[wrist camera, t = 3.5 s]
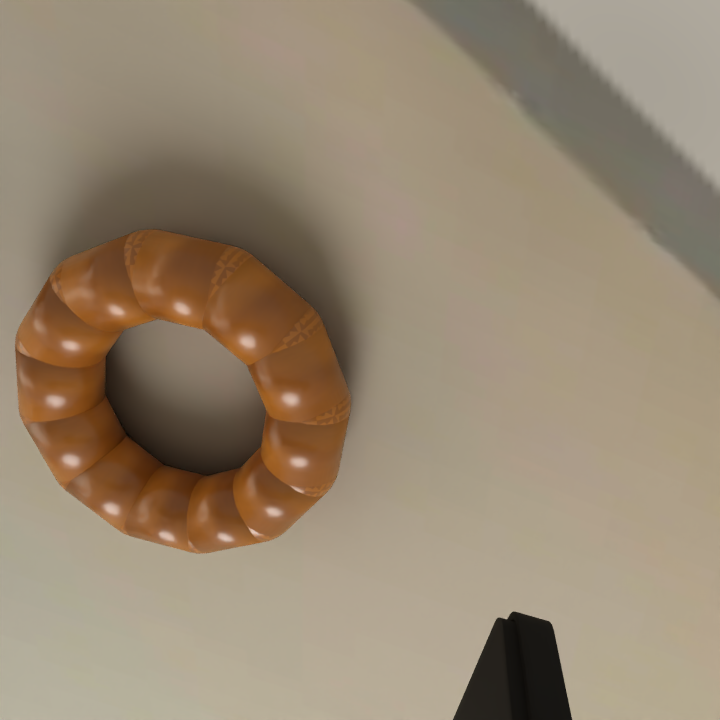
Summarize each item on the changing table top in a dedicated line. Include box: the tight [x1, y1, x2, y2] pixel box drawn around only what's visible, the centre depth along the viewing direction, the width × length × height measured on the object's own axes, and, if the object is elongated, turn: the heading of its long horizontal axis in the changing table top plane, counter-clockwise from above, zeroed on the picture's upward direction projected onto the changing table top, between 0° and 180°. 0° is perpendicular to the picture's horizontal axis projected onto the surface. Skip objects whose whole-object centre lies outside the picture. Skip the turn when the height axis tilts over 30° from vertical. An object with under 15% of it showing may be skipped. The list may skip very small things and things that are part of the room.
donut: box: [15, 229, 351, 553], centre depth 14 cm, size 8×8×2 cm
